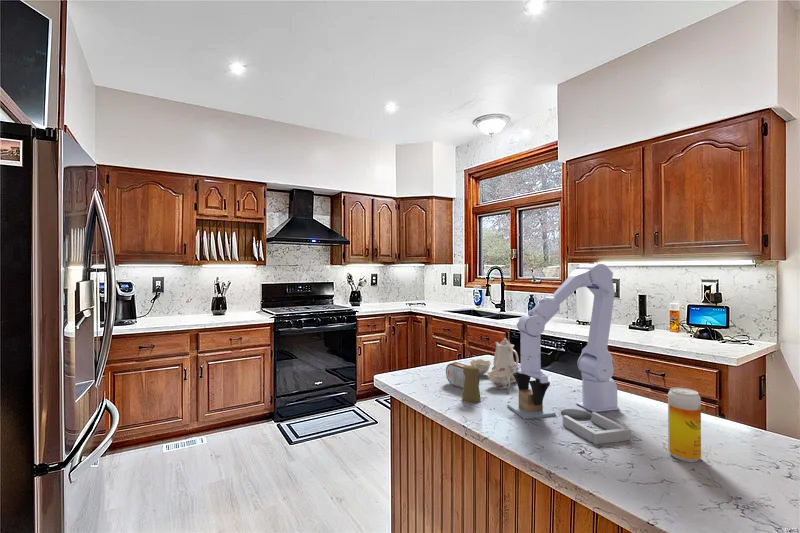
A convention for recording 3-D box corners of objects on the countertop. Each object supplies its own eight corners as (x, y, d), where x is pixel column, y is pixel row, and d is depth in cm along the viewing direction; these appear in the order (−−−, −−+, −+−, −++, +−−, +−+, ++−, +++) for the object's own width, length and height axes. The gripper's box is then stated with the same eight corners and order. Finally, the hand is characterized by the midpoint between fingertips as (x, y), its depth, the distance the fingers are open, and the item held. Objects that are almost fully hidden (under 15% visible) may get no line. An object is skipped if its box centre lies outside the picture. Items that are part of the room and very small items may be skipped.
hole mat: (578, 408, 121) (578, 407, 121) (597, 418, 113) (597, 417, 113) (555, 411, 119) (555, 410, 119) (573, 421, 111) (573, 420, 111)
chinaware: (463, 376, 163) (459, 336, 163) (499, 369, 168) (495, 330, 167) (499, 398, 136) (495, 350, 136) (541, 388, 141) (536, 342, 141)
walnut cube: (533, 404, 123) (533, 388, 123) (542, 410, 118) (542, 393, 118) (518, 406, 121) (518, 390, 121) (527, 412, 116) (527, 395, 116)
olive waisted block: (480, 403, 126) (480, 368, 126) (461, 402, 128) (461, 368, 128) (480, 397, 132) (480, 364, 132) (462, 396, 134) (462, 363, 134)
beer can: (702, 465, 87) (702, 396, 87) (668, 458, 90) (668, 392, 90) (699, 454, 92) (699, 389, 92) (667, 448, 95) (667, 385, 95)
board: (536, 404, 126) (536, 401, 126) (555, 415, 116) (555, 412, 116) (507, 406, 123) (507, 404, 123) (524, 418, 113) (524, 416, 113)
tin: (480, 392, 138) (480, 368, 138) (473, 394, 136) (473, 369, 136) (450, 382, 150) (450, 359, 150) (444, 383, 148) (444, 360, 148)
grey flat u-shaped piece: (595, 421, 112) (595, 412, 112) (630, 439, 100) (630, 429, 100) (562, 424, 109) (562, 415, 109) (595, 444, 97) (595, 434, 97)
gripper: (506, 350, 126) (506, 394, 126) (532, 361, 111) (532, 410, 111) (526, 349, 127) (526, 392, 127) (554, 360, 113) (554, 407, 113)
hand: (530, 400), depth 119 cm, fingers open, 7 cm apart
